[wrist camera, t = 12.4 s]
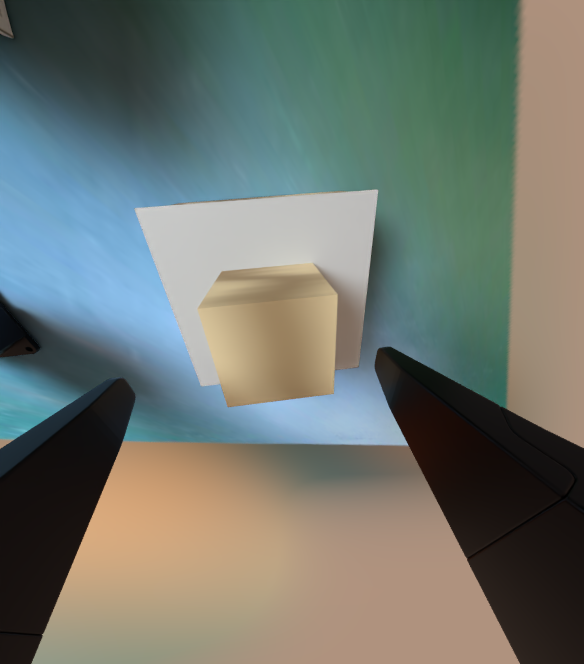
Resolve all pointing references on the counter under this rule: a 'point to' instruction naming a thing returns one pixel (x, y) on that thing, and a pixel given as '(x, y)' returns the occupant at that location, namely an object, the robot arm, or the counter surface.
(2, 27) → the light bulb box
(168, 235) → the lid
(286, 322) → the block
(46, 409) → the counter surface
